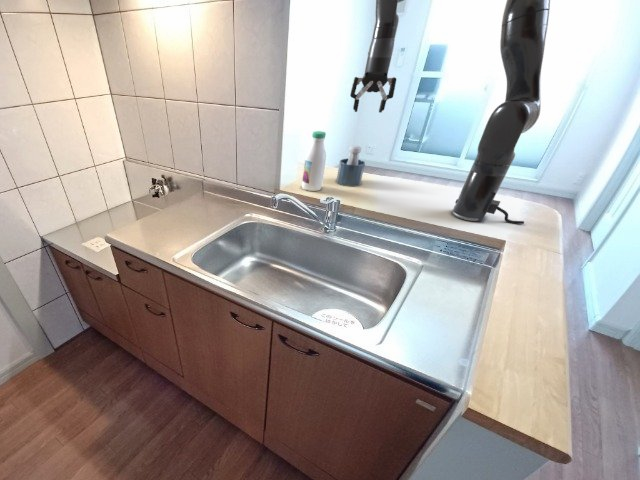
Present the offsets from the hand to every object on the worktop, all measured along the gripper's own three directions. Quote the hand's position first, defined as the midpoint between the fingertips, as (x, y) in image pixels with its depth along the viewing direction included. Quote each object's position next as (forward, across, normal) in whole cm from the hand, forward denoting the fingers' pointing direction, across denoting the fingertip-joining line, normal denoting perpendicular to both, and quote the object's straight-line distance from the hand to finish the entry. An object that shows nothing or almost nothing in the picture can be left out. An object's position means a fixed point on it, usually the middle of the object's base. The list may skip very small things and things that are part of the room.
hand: (367, 111), depth 117 cm
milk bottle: (+26, -17, -10) cm, 32 cm away
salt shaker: (+25, -2, 0) cm, 25 cm away
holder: (+25, -2, 0) cm, 25 cm away
